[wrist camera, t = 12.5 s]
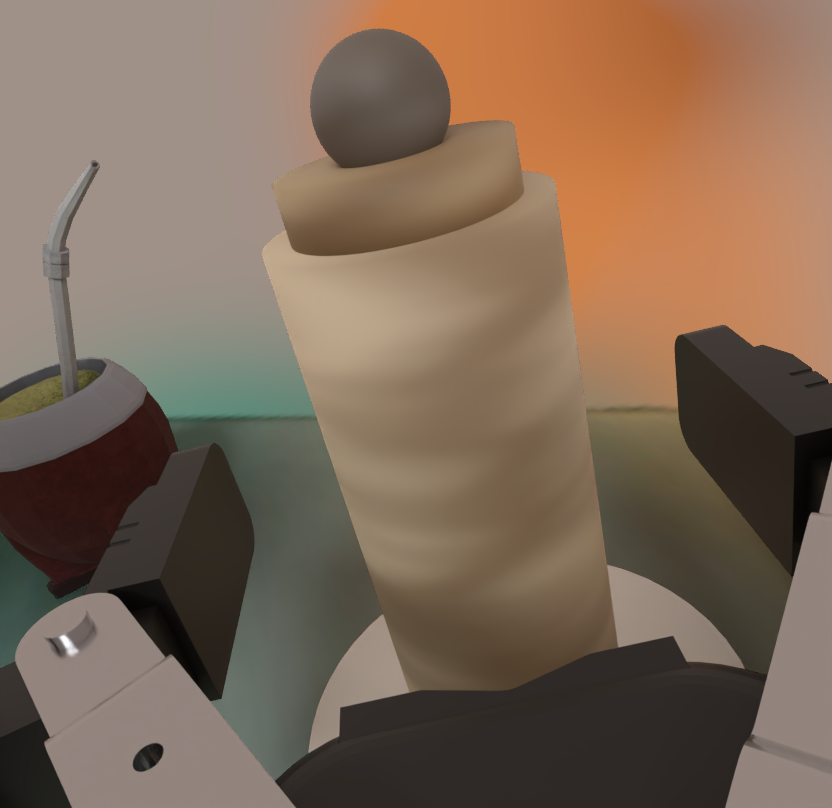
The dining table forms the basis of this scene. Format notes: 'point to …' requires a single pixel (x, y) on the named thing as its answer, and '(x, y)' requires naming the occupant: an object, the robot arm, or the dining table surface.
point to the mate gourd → (74, 440)
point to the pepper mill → (444, 372)
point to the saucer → (635, 622)
